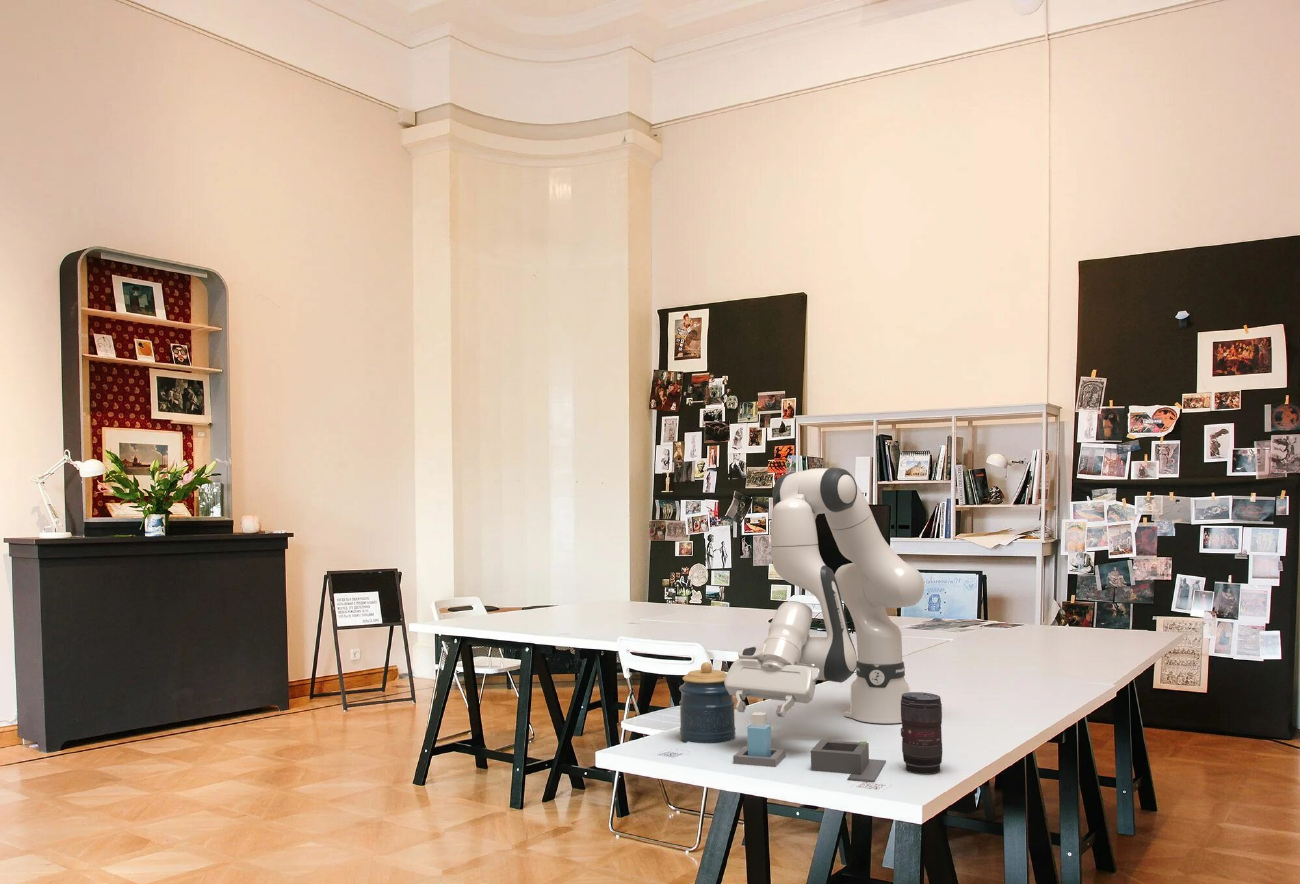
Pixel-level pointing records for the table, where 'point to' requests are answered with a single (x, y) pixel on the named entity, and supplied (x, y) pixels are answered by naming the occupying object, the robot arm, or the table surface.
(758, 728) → the plug
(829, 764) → the port
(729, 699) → the canister
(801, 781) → the table surface
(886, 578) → the robot arm
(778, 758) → the grey square tray
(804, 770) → the table surface
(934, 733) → the camera lens
